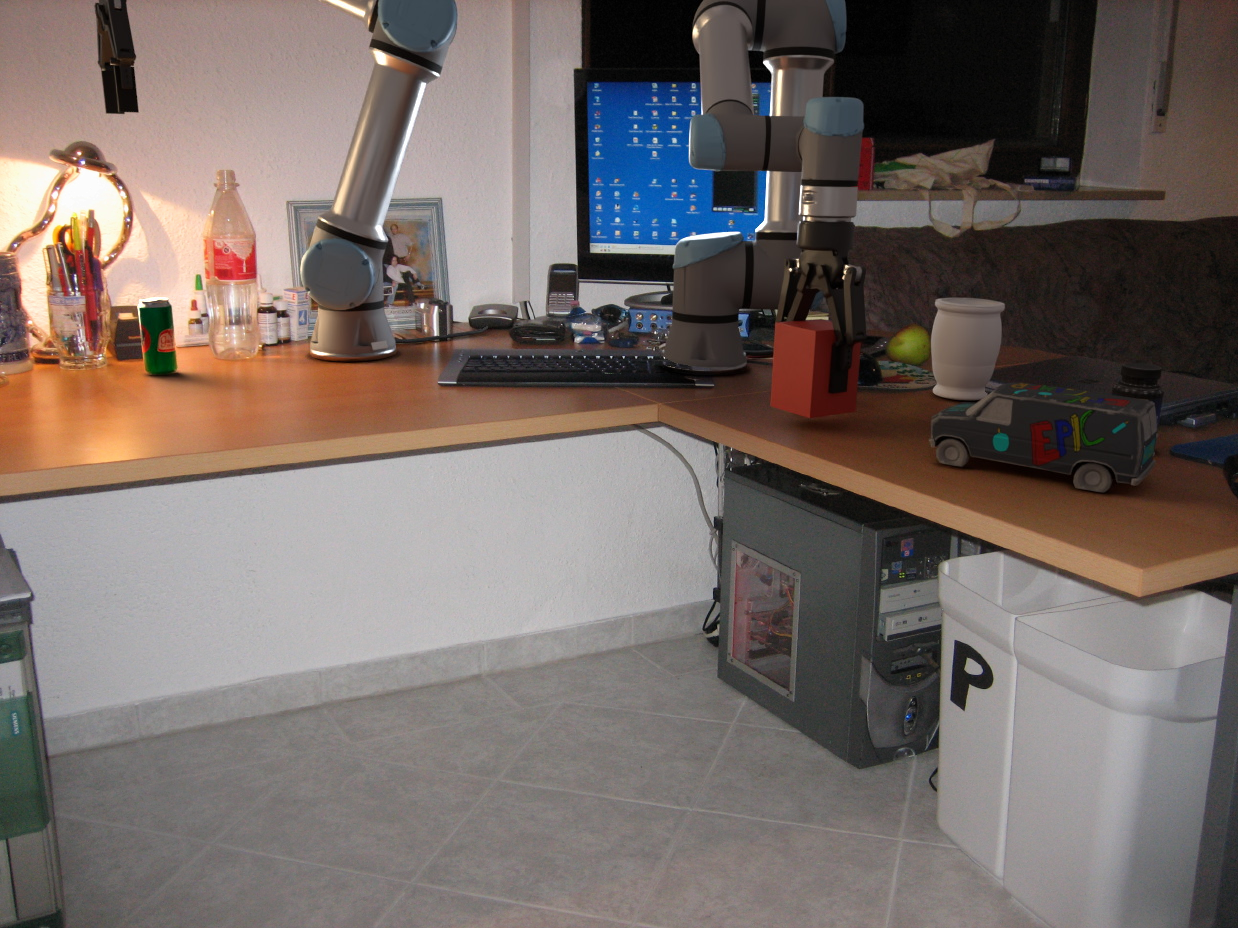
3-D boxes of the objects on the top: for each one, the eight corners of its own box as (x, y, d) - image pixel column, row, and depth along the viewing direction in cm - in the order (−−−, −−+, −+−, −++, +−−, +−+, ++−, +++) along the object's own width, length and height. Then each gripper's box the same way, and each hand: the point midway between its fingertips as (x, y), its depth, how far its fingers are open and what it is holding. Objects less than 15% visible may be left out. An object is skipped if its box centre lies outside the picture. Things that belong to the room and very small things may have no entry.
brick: (770, 406, 151) (775, 322, 148) (815, 400, 155) (821, 319, 152) (809, 418, 144) (815, 331, 141) (855, 412, 148) (862, 327, 145)
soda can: (166, 376, 173) (158, 302, 169) (138, 374, 173) (130, 300, 170) (184, 370, 177) (177, 298, 174) (157, 368, 178) (149, 296, 175)
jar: (912, 390, 173) (921, 298, 169) (962, 386, 177) (972, 295, 173) (956, 405, 163) (966, 307, 159) (1008, 400, 167) (1020, 304, 163)
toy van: (951, 443, 141) (959, 369, 139) (1155, 478, 128) (1168, 397, 125) (922, 461, 133) (930, 382, 130) (1136, 500, 119) (1151, 413, 116)
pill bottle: (1117, 454, 138) (1130, 370, 135) (1094, 442, 144) (1106, 361, 140) (1163, 454, 138) (1177, 370, 135) (1139, 442, 144) (1152, 361, 141)
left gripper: (68, -28, 169) (85, 113, 174) (89, -50, 148) (106, 110, 154) (120, -23, 172) (134, 115, 178) (147, -44, 152) (162, 112, 158)
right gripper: (754, 215, 149) (746, 375, 155) (863, 224, 132) (848, 403, 138) (795, 215, 153) (785, 370, 159) (905, 223, 136) (890, 398, 142)
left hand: (121, 113), depth 166 cm, fingers open, 13 cm apart
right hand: (815, 386), depth 149 cm, fingers closed on brick, 8 cm apart
